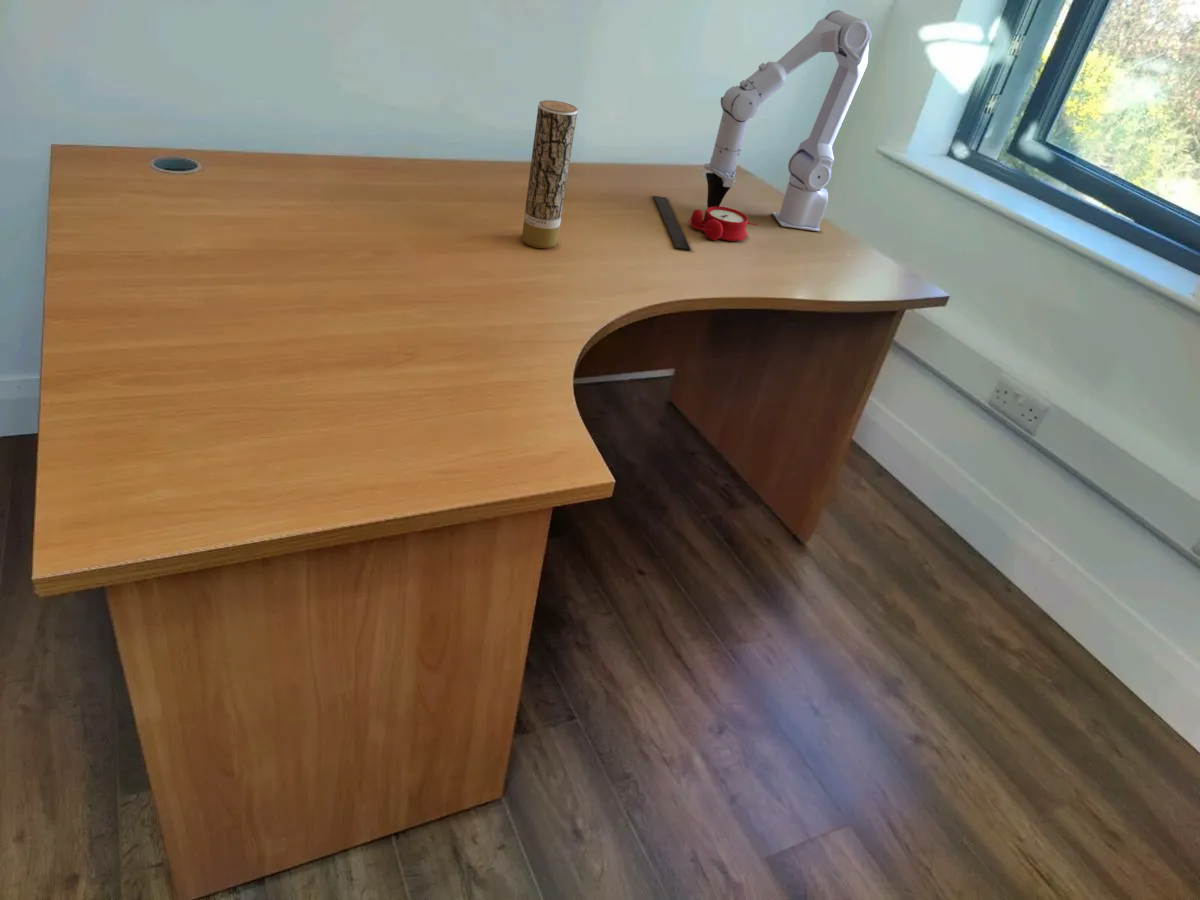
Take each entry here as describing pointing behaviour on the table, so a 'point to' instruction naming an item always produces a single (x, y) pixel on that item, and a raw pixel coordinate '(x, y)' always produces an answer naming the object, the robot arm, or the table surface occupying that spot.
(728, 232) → the alarm clock
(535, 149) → the paper tube
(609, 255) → the table surface
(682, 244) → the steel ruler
